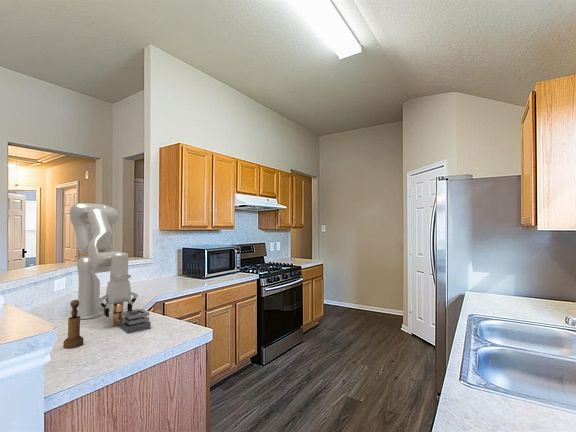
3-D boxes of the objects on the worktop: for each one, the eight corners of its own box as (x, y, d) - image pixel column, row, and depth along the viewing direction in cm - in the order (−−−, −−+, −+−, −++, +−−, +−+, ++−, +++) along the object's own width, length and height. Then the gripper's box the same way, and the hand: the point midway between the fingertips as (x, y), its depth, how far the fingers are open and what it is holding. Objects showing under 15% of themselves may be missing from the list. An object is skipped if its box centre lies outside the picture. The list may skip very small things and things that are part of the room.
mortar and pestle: (60, 349, 119) (61, 302, 120) (67, 343, 125) (68, 298, 126) (80, 347, 121) (81, 301, 121) (85, 341, 127) (87, 297, 128)
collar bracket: (119, 327, 145) (119, 311, 145) (141, 323, 152) (141, 307, 152) (127, 333, 137) (128, 316, 137) (150, 328, 144) (150, 312, 144)
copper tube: (111, 325, 148) (112, 302, 148) (120, 323, 151) (121, 300, 151) (114, 327, 145) (115, 303, 145) (123, 325, 148) (124, 302, 148)
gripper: (135, 275, 157) (134, 309, 156) (96, 279, 145) (95, 316, 144) (140, 277, 152) (140, 312, 151) (101, 281, 140) (100, 320, 139)
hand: (118, 314), depth 148 cm, fingers open, 9 cm apart
